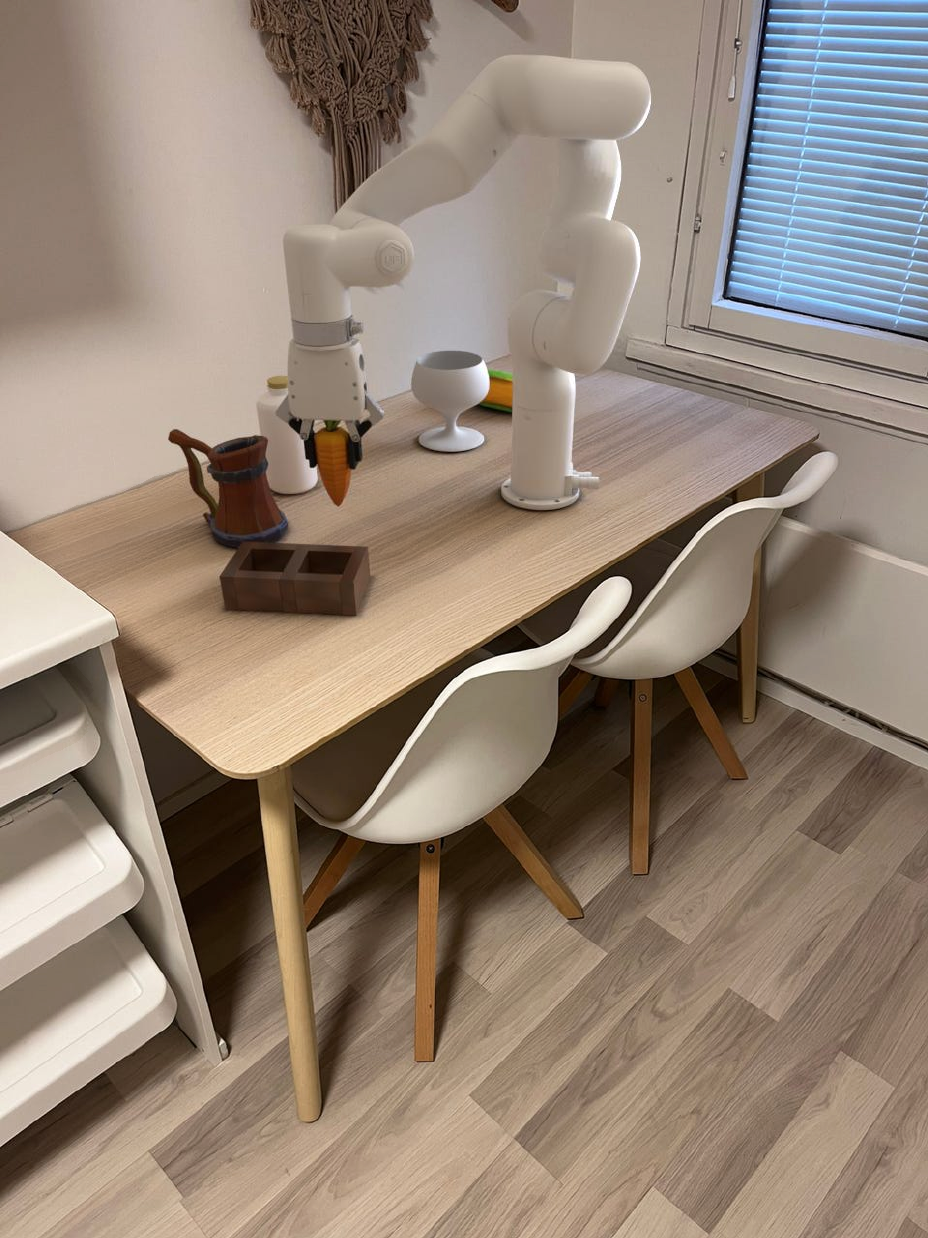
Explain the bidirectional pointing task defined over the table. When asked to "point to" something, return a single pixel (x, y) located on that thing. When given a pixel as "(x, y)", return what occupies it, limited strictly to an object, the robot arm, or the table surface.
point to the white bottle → (283, 444)
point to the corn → (499, 391)
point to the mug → (235, 489)
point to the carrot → (333, 459)
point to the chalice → (450, 395)
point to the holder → (296, 578)
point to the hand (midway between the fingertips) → (334, 463)
